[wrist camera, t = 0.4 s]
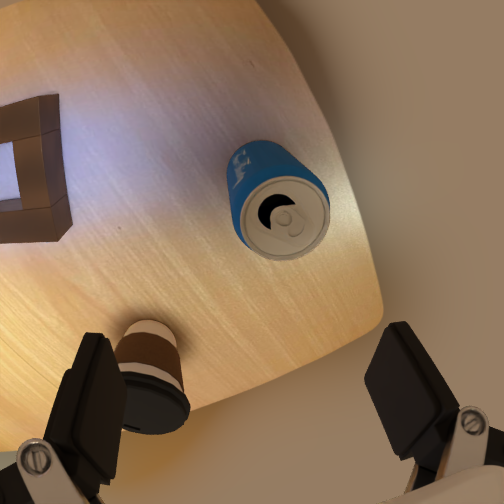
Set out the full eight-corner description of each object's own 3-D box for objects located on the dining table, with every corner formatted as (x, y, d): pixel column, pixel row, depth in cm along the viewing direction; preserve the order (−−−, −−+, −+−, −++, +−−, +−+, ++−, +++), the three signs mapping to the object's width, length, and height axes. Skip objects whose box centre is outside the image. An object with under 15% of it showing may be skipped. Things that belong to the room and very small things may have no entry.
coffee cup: (176, 372, 42) (172, 444, 31) (104, 347, 38) (85, 418, 28) (205, 322, 37) (206, 403, 27) (121, 291, 34) (94, 369, 24)
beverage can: (258, 125, 27) (285, 146, 17) (306, 169, 30) (355, 216, 19) (212, 176, 29) (210, 228, 18) (262, 215, 31) (286, 283, 21)
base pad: (-33, 121, 21) (-54, 127, 18) (58, 93, 23) (38, 96, 19) (-14, 230, 28) (-31, 245, 24) (72, 224, 29) (58, 241, 26)
